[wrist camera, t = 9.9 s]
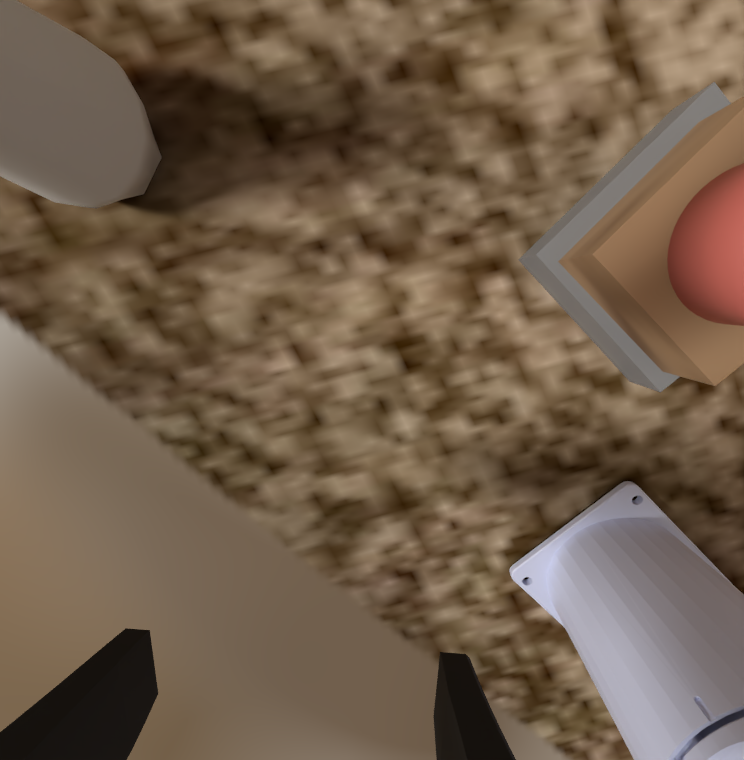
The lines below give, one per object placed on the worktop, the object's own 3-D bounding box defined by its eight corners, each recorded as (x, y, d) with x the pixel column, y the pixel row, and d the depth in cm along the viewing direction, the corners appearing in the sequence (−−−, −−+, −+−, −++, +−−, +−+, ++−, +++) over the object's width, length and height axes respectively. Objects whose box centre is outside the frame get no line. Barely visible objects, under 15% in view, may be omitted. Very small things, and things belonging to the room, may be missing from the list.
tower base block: (771, 255, 16) (840, 247, 14) (623, 378, 18) (660, 392, 15) (661, 116, 15) (714, 81, 13) (514, 260, 17) (535, 254, 14)
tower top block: (805, 250, 14) (895, 240, 11) (662, 371, 15) (715, 385, 12) (699, 121, 13) (770, 81, 10) (558, 261, 14) (592, 254, 12)
